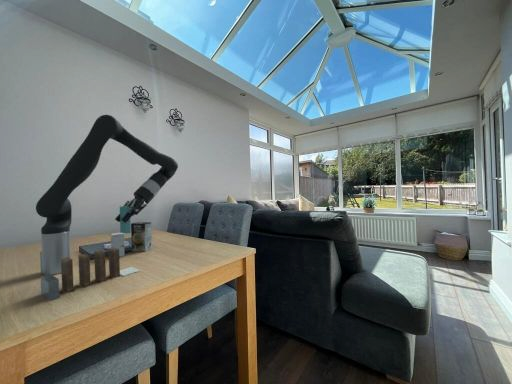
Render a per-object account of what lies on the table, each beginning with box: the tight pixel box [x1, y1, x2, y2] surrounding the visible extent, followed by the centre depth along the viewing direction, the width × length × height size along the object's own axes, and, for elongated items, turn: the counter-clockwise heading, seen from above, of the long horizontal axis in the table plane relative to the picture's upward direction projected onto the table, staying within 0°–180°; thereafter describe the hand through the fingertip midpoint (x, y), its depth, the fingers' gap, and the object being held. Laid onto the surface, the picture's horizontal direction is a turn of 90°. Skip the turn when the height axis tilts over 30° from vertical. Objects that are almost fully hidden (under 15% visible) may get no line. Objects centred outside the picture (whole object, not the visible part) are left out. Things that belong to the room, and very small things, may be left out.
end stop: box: [40, 274, 60, 301], centre depth 73 cm, size 2×9×6 cm, turn 56°
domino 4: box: [107, 247, 121, 279], centre depth 89 cm, size 2×5×11 cm, turn 56°
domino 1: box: [60, 257, 75, 294], centre depth 77 cm, size 2×5×11 cm, turn 56°
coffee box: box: [130, 221, 153, 252], centre depth 130 cm, size 9×6×16 cm
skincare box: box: [110, 232, 125, 258], centre depth 118 cm, size 6×4×12 cm
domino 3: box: [93, 250, 107, 283], centre depth 85 cm, size 2×5×11 cm, turn 56°
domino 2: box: [77, 253, 92, 288], centre depth 81 cm, size 2×5×11 cm, turn 56°
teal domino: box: [119, 205, 131, 234], centre depth 93 cm, size 2×5×11 cm, turn 55°
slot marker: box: [120, 266, 142, 277], centre depth 94 cm, size 7×8×1 cm
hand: (120, 220), depth 91 cm, fingers closed on teal domino, 5 cm apart
